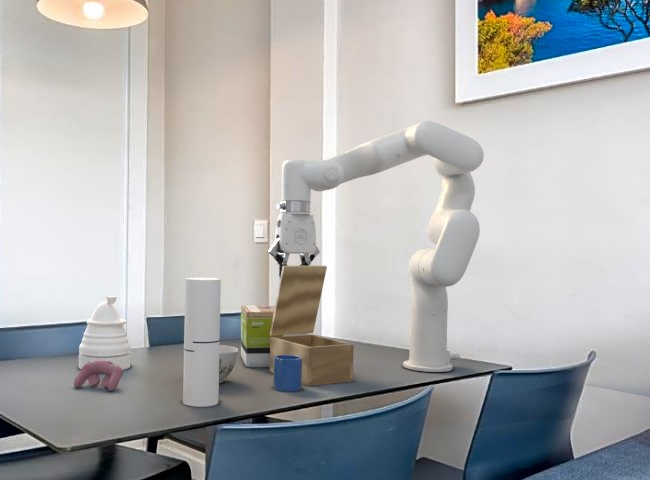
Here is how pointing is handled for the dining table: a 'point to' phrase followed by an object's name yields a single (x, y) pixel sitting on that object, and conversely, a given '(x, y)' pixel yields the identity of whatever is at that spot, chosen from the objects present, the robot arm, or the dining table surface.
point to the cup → (287, 373)
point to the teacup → (226, 361)
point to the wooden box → (316, 357)
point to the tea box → (256, 335)
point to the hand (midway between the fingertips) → (293, 279)
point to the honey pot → (105, 337)
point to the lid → (298, 300)
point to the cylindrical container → (201, 341)
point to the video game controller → (96, 368)
